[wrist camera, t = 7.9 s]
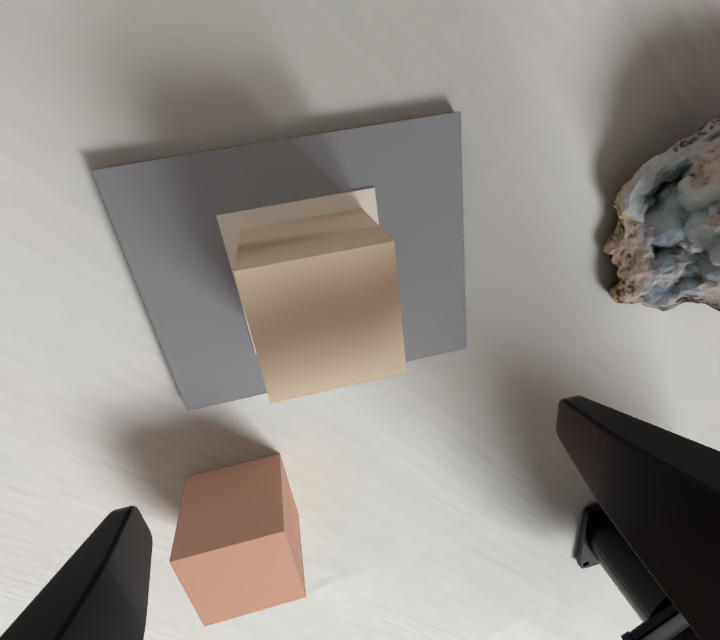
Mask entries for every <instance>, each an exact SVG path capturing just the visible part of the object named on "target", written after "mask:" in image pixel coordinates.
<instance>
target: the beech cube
mask: <svg viewBox="0 0 720 640" xmlns="http://www.w3.org/2000/svg"><path fill="white" fill-rule="evenodd" d="M234 275H235V279H236V282H237V286H238V289H239V293H240V296H241V300H242V304H243V307H244V311H245V314H246V318H247V321H248V325H249V329H250V332H251V336H252V339H253V343H254V347H255V350H256V354H257V357H258V361H259V364H260V368H261V372H262V375H263V379H264V382H265V386H266V389H267V393H268V397H269V400H270V403H275V402H279V401H284V400H288V399H292V398H297V397H301V396H306V395H310V394H315V393H319V392H323V391H328V390H332V389H337V388H341V387H345V386H350V385H354V384H359V383H363V382H368V381H372V380H376V379H381V378H385V377H390V376H394V375H399V374H403V373H407V371H406V360H405V350H404V339H403V329H402V318H401V308H400V297H399V287H398V277H397V266H396V256H395V245H394V241H393V239H392V238H391V237H390V236H389V235H388V234H387V233H386V232H385V231H384V230H383V229H382V228H381V227H380V226H379V225H378V224H377V223H376V222H375V221H374V220H373V219H372V218H371V217H370V216H369V215H368V214H367V213H366V212H365V211H364V210H363V209H362V208H359V209H354V210H348V211H342V212H337V213H331V214H326V215H320V216H314V217H309V218H303V219H297V220H292V221H286V222H281V223H275V224H269V225H264V226H258V227H252V228H247V229H241V230H240V236H239V242H238V248H237V254H236V260H235V266H234Z"/></svg>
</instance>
